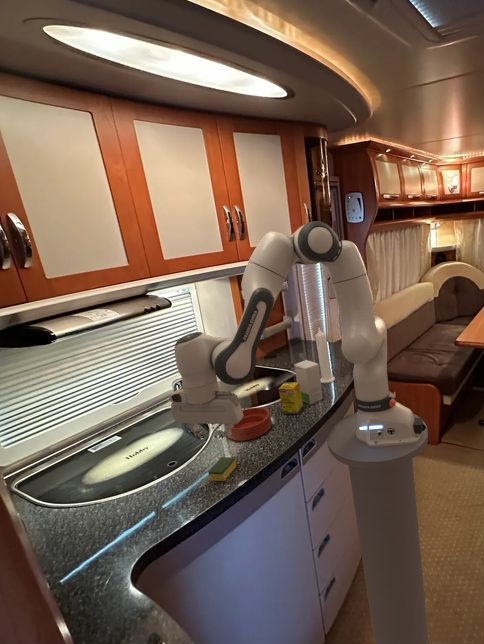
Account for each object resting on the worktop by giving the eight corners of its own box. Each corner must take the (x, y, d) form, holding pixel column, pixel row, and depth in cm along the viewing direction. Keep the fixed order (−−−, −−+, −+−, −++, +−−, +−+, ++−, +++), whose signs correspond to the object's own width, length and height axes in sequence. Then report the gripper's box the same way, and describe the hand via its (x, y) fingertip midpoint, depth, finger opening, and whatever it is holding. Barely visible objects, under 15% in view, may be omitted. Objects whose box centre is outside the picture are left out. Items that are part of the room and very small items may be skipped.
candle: (337, 380, 168) (329, 326, 161) (323, 385, 165) (314, 330, 157) (330, 376, 174) (323, 324, 167) (317, 380, 171) (308, 328, 163)
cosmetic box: (299, 400, 153) (292, 364, 148) (311, 394, 157) (305, 359, 152) (311, 405, 147) (305, 368, 142) (324, 398, 151) (318, 362, 146)
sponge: (236, 466, 113) (234, 457, 112) (224, 481, 106) (221, 472, 105) (223, 465, 114) (221, 457, 113) (210, 480, 107) (207, 471, 106)
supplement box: (283, 414, 142) (277, 388, 138) (289, 407, 147) (284, 381, 144) (297, 415, 140) (292, 388, 137) (303, 407, 145) (298, 381, 142)
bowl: (278, 419, 138) (276, 407, 137) (260, 442, 124) (257, 429, 123) (241, 419, 142) (239, 407, 141) (219, 441, 128) (216, 428, 126)
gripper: (241, 386, 103) (251, 430, 107) (178, 387, 108) (190, 429, 112) (229, 396, 97) (240, 442, 101) (163, 396, 102) (176, 440, 106)
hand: (213, 435), depth 106 cm, fingers open, 8 cm apart
